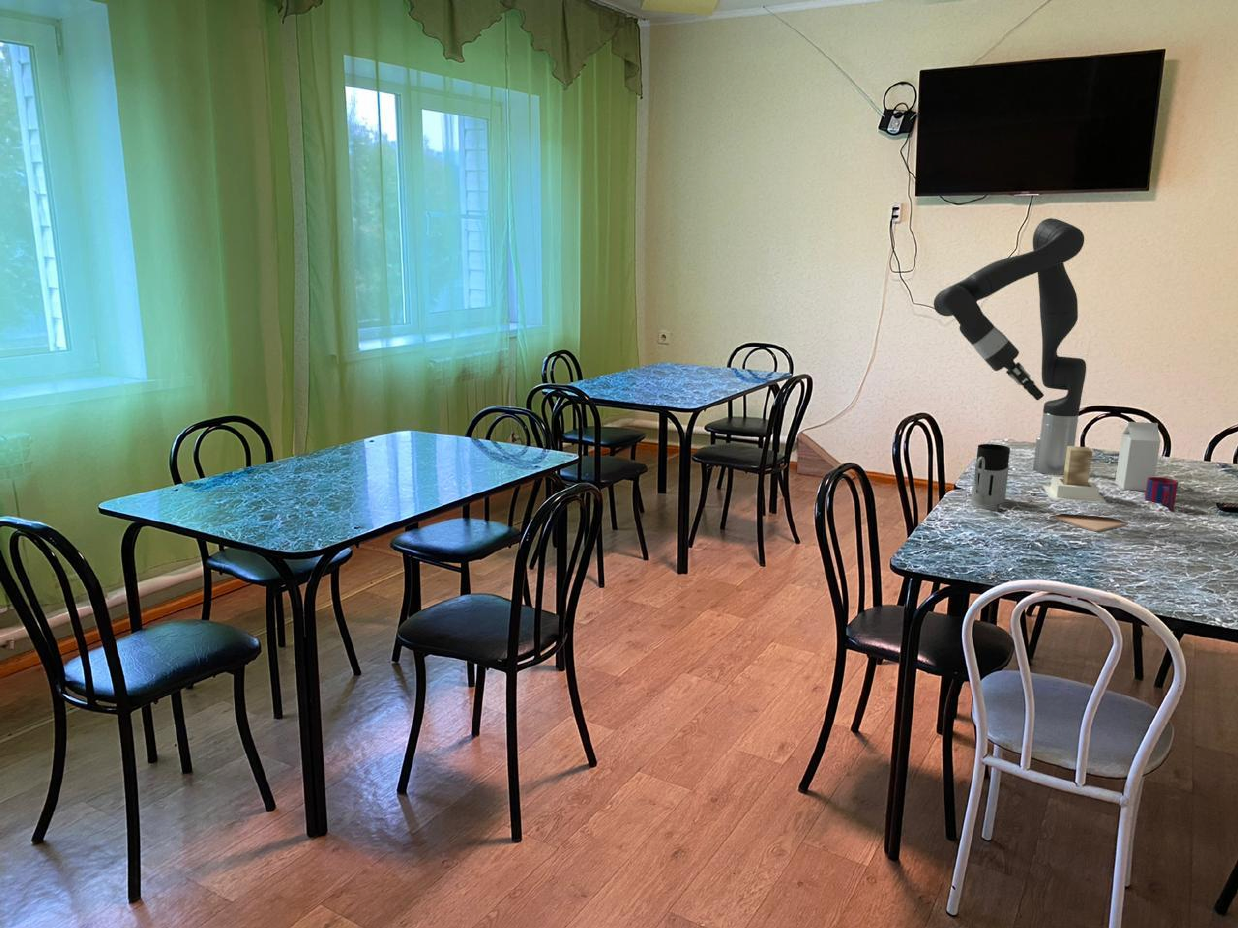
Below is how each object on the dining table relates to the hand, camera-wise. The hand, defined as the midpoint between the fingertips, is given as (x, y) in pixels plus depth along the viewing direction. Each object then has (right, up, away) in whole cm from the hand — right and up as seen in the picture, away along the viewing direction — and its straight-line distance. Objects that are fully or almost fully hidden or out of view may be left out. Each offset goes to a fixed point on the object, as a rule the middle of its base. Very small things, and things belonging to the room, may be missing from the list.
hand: (1037, 395), depth 236 cm
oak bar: (+11, -25, +3) cm, 28 cm away
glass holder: (-16, -29, -4) cm, 33 cm away
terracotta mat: (+5, -31, -15) cm, 35 cm away
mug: (+29, -29, -3) cm, 41 cm away
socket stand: (+11, -27, +4) cm, 29 cm away
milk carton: (+30, -25, +11) cm, 41 cm away
